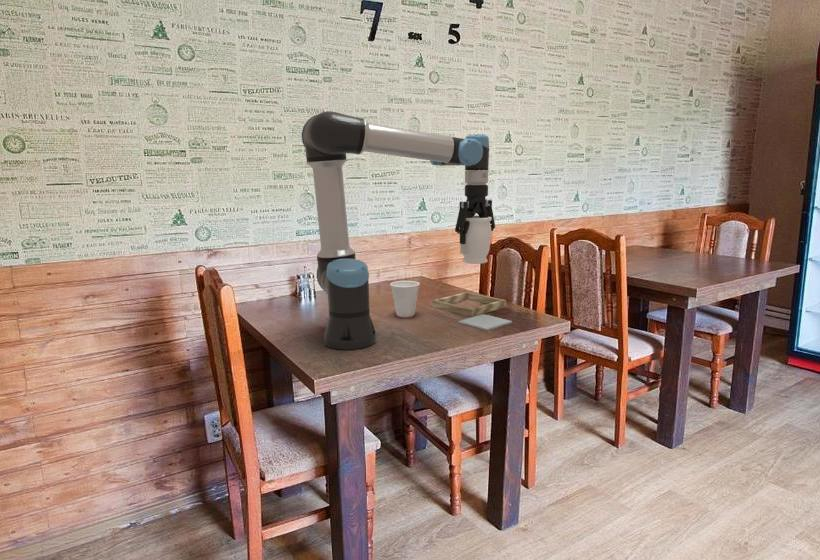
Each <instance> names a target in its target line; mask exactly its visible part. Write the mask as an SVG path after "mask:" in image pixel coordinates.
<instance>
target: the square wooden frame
mask: <svg viewBox="0 0 820 560" xmlns="http://www.w3.org/2000/svg"><path fill="white" fill-rule="evenodd" d="M463 300H464V301H468V300H469V301H473V302H476V303H482V304H483V305H478V306H475V307H466V306H463V305H462V306H461V305H458V304H456V303H459V301H460V302H462V301H463ZM464 301H463V302H464ZM455 302H456V303H455ZM431 305H432V306H431V307H432V308H434V309H438V310H441V311H442V310H443V311H445V312H449V313H450V312H451V313H453V314H458V315H462V316H465V317H468V318H471V317H475V316H478V315H482V314H487V313H489V312H493V311H497V310H500V309H504V308H506V307H507V300H506V299H502V298H498V297H493V296H489V295H485V294H484V295H483V294H478V293H474V292H470V291H465V292H462V293H458V294H453V295H449V296H446V297H441V298H438V299H437V298H436V299H432V304H431Z"/></svg>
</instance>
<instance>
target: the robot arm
mask: <svg viewBox="0 0 820 560" xmlns="http://www.w3.org/2000/svg"><path fill="white" fill-rule="evenodd" d="M301 142H302V144H303V146H304V149H305V157H306V164H307V165H308V166H310V167H311V169H312V175H313V182H314V183H313V184H314V193H315V202H316V203H315V204H316V205H315V206H316V212H317V213H316V215H317V223H318V233H319V242H320V250H319V251H318V252H317V254H316V260H317V267H316V268H317V269H316V280H317V283H318V285H319V287H320V288H321V290H323V292H325V293H326V294H327V301H328V303H327V304H328V320H327V323H326V326H325V331H324V335H323V341H324V342H323V344H324V345H325V346H326V347H328V348H330V349H334V350H358V349H364V348H368V347H370V346H373V345H374V344H375V343H376V342H377V341H378V340H377V332H376V328H375V325H374V323H373V320H372V318H371V314H370V287H369V285H370V284H369V283H370V282H369V279H370V273H369V269H368V265H367V263H366V262H365V261H363V260H360V259H356V251H355V250H354V249H353V247H351V246H350V237H349V228H348V218H347V215H348V214H347V208H346V207H347V206H346V205H347V204H346V197H345V183H344V175H343V173H344V172H343V166H344V165H345V163H346V162H347V161H348V160H347V154H355V155H361V154H362V153H363V152H366V153H367V152H368V153H374V154H382V155H388V156H394V157H395V156H396V157H401V158H402V157H403V158H410V159H416V160H425V161H429V162H430V163H431V165H432V166H439V167H442V166H443V167H444V166H446V167H447V166H451V167H453V166H464V183H465V186H464V197H466V200H465V201H459V210H458V214H457V220H456V224H455V228H454V232H455V233H456V234H459V244H460V246H459V247H460V251H459V253H460V254H462V255H463V254H468V236H469V234H466V233H467V231H468V228H469V225H470V222H469V221H465V220H466V218H473V216H476V214H477V216H479V217H480V218H488V217H492V220H491V221H490V225H491V232H493V231H494V229H495V228H496V223H495V217H494V212H493V200H492V199H486V197H488V196H489V185H488V183H489V165H490V164H489V161H490V158H489V157H490V138H489V136H488V135H486V134H468V135H466V136H465V138H462V137H455V136H450V135H449V136H448V135H444V134H437V133H432V132H431V133H430V132H425V131H419V130H412V129H405V128H400V127H393V126H388V125H382V124H381V125H380V124H376V123H370V122H367V120H366V119H365V118H363V117H358V116H357V117H356V116H352V115H348V114H343V113H341V112H338V111H337V112H336V111H322V112H319V113H318V114H315V115H313V116H311V117H310V118H309V119H307V120H306V122H305V123H304V125H303V127H302V129H301ZM487 216H488V217H487ZM463 229H464V230H463ZM490 249H491V248H490ZM490 249H489V252H490Z"/></svg>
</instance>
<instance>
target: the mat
mask: <svg viewBox="0 0 820 560" xmlns="http://www.w3.org/2000/svg"><path fill="white" fill-rule="evenodd" d="M458 324H462V325H465V326H469V327H472V328H476V329H480V330H483V331H488V332H489V331H492V330H494V329H498V328H500V327H504V326H506V325H510V324H513V320H508V319H505V318H502V317H497V316H493V315H489V314H486V313H484V314H480V315H477V316H473V317H468V318H464V319H461V320H458Z"/></svg>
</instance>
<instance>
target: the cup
mask: <svg viewBox="0 0 820 560" xmlns="http://www.w3.org/2000/svg"><path fill="white" fill-rule="evenodd" d="M389 285H390V288H391V292H392V296H393V303H394V309H395V313H396V316H397V317H399V318H411V317H413V316H415V315H416V306H417V301H418V293H419V289H420V288H419V287H420V285H421V284H420V282H418V281H416V280H397V281H392V282H391V283H390V284H389Z"/></svg>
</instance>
